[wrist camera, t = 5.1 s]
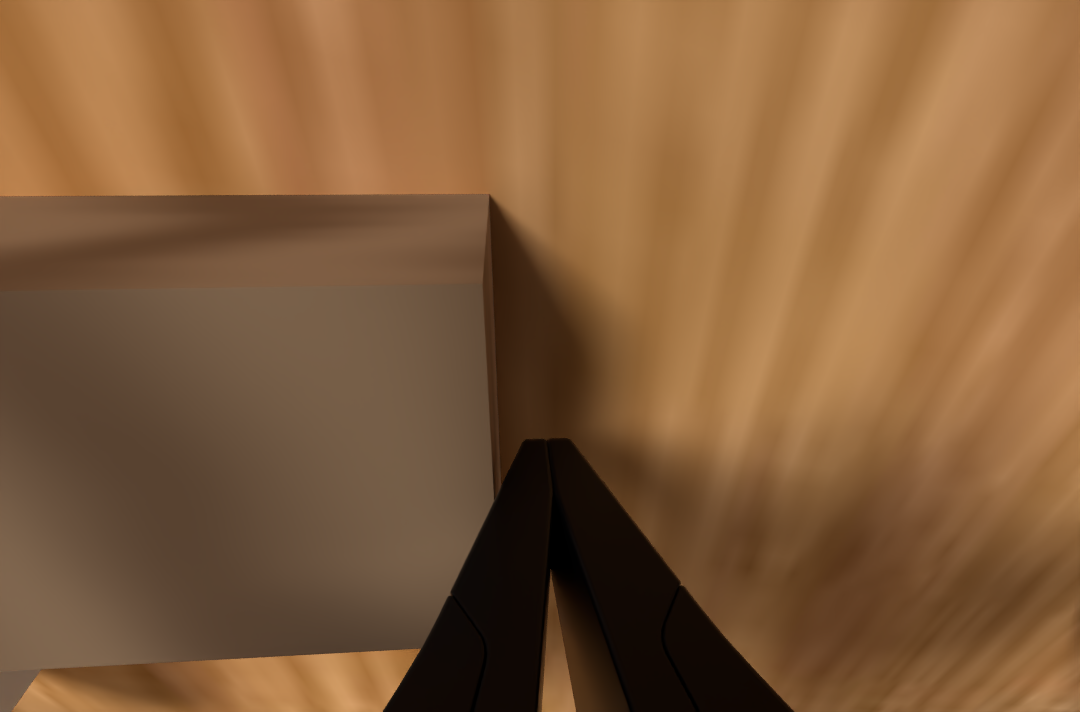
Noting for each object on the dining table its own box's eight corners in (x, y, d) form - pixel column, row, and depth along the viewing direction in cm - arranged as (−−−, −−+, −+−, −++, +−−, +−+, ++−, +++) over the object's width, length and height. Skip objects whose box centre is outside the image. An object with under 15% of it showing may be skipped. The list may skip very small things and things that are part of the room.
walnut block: (489, 189, 9) (482, 283, 6) (501, 492, 14) (502, 644, 10) (-96, 192, 9) (-458, 298, 6) (111, 507, 13) (-22, 673, 10)
